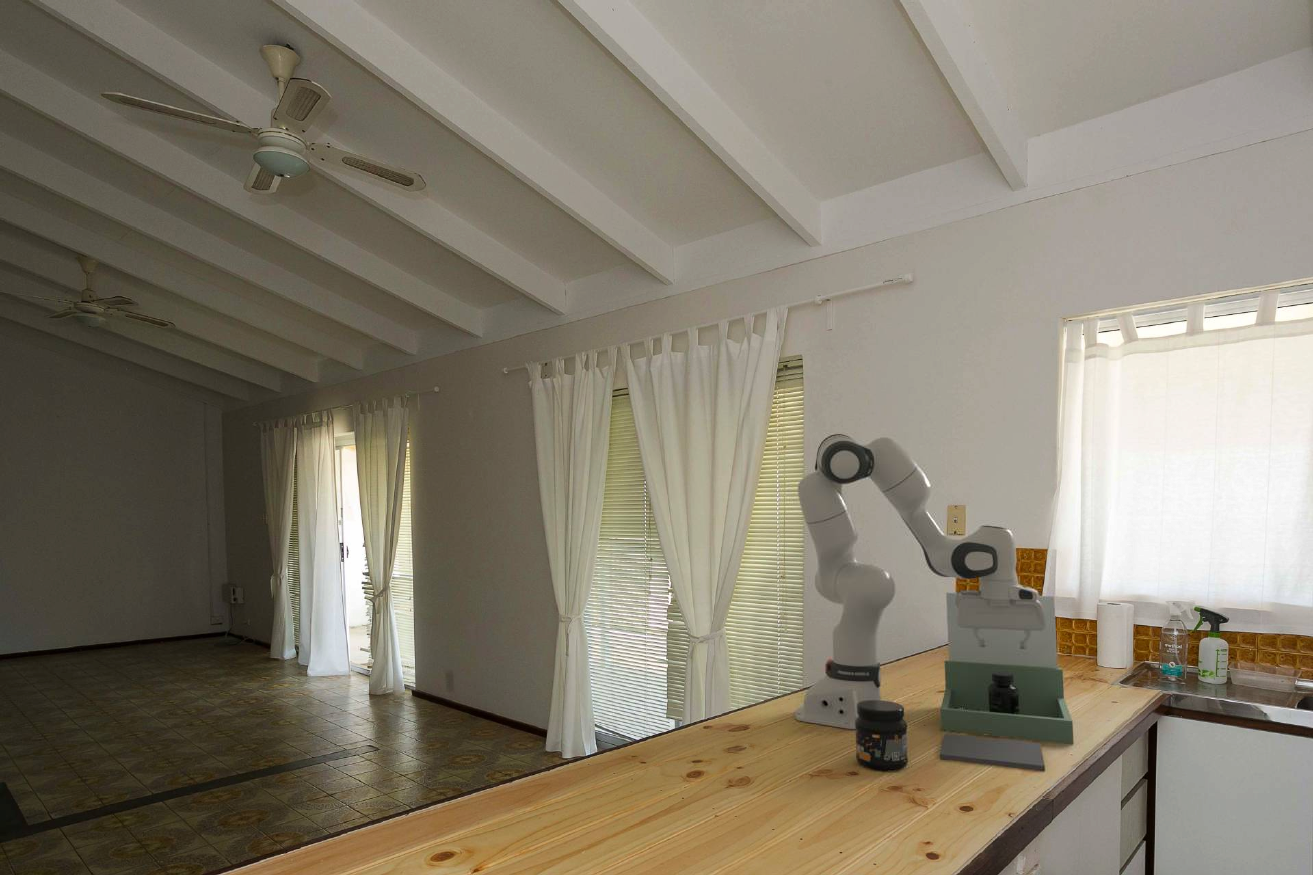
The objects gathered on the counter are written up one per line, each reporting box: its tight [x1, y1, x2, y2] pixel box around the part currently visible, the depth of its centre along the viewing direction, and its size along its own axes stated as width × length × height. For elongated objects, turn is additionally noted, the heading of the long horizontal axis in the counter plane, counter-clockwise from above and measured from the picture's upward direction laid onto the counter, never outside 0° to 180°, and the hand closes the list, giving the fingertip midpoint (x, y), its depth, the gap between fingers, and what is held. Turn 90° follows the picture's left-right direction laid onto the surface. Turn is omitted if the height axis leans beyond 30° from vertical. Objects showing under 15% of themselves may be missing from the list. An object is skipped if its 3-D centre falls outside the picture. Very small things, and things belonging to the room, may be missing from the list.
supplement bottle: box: [988, 672, 1020, 715], centre depth 192 cm, size 7×7×12 cm
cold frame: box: [940, 592, 1075, 745], centre depth 193 cm, size 28×25×30 cm
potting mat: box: [939, 733, 1046, 772], centre depth 169 cm, size 20×16×1 cm
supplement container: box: [855, 699, 909, 772], centre depth 163 cm, size 10×10×12 cm
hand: (1002, 647), depth 193 cm, fingers open, 8 cm apart
